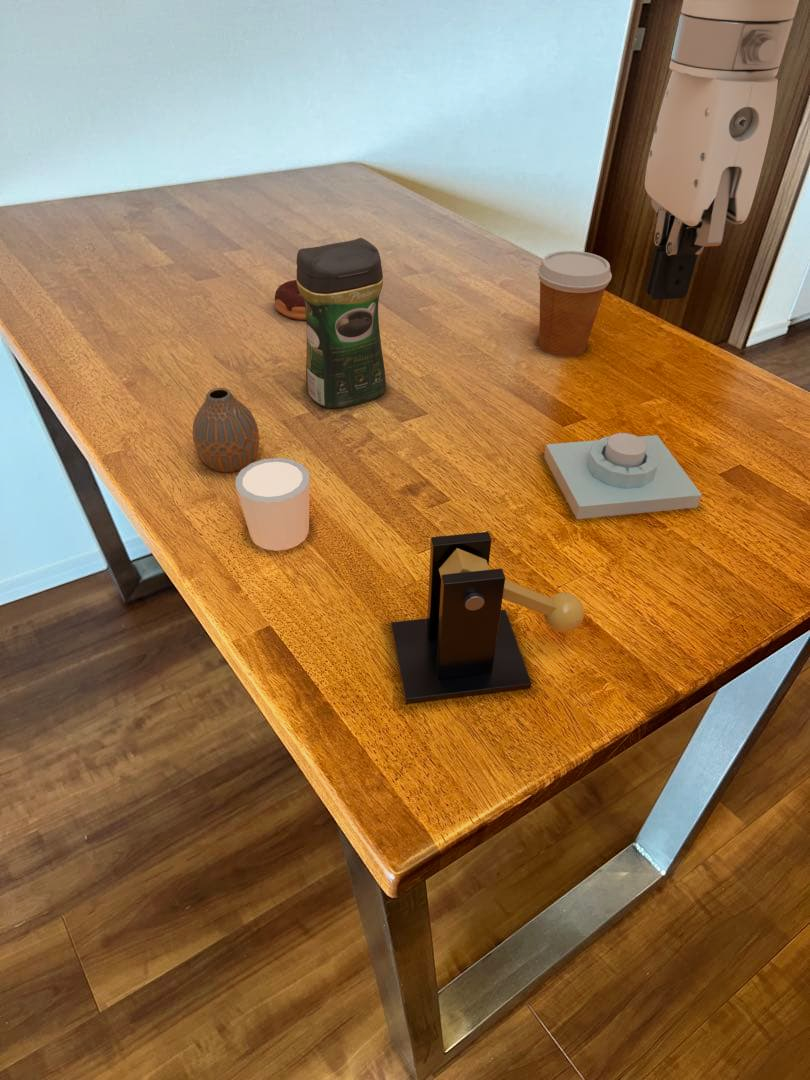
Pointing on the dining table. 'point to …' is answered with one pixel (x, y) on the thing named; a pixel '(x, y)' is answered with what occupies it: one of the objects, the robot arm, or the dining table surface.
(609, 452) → the round push button
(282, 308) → the donut
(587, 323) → the disposable coffee cup
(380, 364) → the coffee jar
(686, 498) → the square base plate
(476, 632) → the lever bracket
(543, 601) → the flush lever
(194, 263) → the dining table surface
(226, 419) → the vase
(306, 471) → the pale pink cup
